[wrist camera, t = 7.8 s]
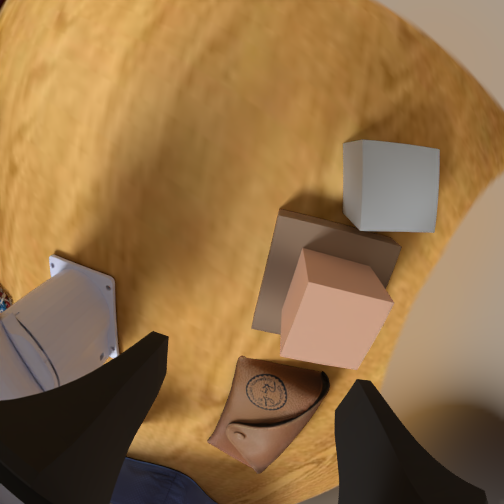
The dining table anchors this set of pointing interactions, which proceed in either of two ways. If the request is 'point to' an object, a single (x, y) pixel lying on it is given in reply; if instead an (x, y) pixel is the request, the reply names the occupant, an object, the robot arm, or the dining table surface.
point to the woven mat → (4, 301)
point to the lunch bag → (155, 486)
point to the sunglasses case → (267, 410)
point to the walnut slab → (320, 240)
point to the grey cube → (390, 186)
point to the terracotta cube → (332, 311)
